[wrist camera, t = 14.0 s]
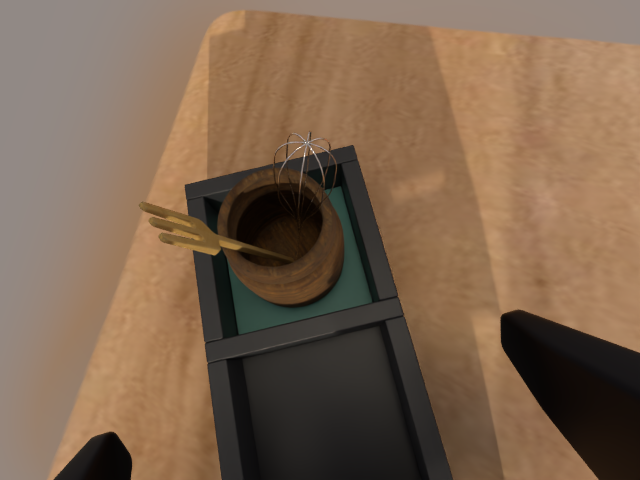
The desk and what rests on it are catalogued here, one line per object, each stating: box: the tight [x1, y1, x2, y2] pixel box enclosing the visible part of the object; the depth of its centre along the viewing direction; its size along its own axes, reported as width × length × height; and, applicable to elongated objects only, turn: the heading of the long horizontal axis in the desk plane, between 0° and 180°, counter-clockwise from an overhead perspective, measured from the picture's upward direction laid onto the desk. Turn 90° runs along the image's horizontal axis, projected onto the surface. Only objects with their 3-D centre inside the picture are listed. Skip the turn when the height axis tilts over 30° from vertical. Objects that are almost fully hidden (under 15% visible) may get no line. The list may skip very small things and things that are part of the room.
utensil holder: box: [139, 131, 344, 308], centre depth 17 cm, size 6×6×12 cm
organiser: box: [185, 145, 453, 480], centre depth 20 cm, size 19×10×4 cm, turn 13°
